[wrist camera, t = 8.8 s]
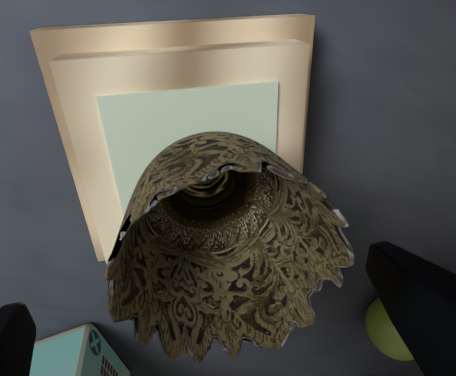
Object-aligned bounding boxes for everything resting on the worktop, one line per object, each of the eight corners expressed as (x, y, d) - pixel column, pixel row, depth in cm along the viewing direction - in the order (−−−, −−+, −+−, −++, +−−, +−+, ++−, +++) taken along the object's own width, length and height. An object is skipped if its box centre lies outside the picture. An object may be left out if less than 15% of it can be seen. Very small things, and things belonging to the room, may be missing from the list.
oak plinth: (299, 13, 18) (336, 17, 15) (287, 214, 25) (310, 251, 21) (42, 27, 16) (11, 35, 13) (102, 241, 23) (92, 287, 19)
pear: (396, 346, 26) (497, 287, 27) (351, 297, 30) (440, 250, 32) (396, 385, 29) (488, 329, 30) (355, 335, 33) (436, 289, 35)
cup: (226, 247, 20) (265, 382, 13) (100, 200, 17) (63, 342, 10) (302, 139, 17) (402, 233, 10) (171, 61, 14) (188, 121, 7)
